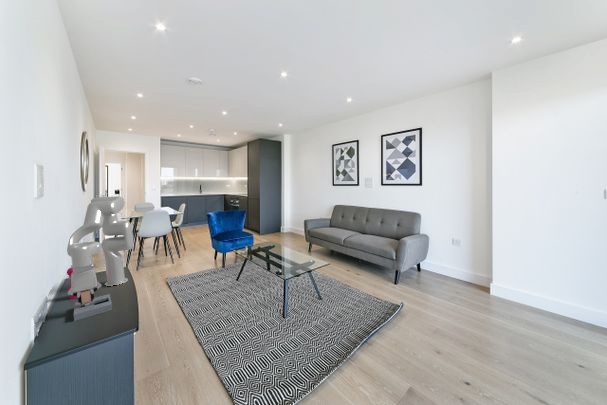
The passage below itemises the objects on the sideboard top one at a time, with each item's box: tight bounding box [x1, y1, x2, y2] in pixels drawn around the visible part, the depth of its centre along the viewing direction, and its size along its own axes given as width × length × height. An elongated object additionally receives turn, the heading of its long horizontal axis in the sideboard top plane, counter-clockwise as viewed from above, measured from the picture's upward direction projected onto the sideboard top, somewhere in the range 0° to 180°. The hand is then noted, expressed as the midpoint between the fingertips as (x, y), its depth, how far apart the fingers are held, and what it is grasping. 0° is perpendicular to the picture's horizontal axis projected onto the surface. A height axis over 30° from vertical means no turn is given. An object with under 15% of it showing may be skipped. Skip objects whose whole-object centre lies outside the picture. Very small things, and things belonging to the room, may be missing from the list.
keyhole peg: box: [81, 289, 91, 307], centre depth 131 cm, size 5×5×11 cm
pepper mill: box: [66, 264, 81, 300], centre depth 149 cm, size 7×7×20 cm
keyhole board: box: [73, 293, 113, 322], centre depth 133 cm, size 17×15×3 cm
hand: (86, 301), depth 131 cm, fingers closed on keyhole peg, 3 cm apart
